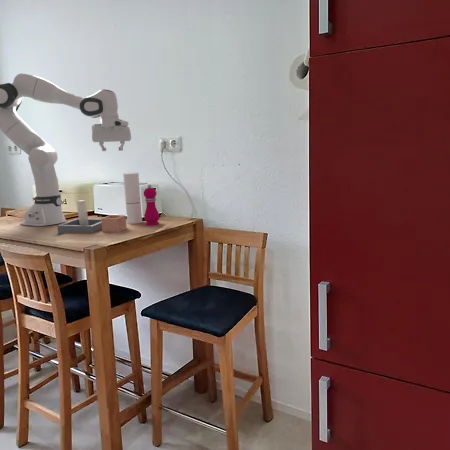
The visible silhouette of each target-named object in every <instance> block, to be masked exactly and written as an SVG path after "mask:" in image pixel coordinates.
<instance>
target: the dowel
mask: <svg viewBox="0 0 450 450" xmlns="http://www.w3.org/2000/svg"><path fill="white" fill-rule="evenodd" d="M76 206H77V215H78V219H79V224H80V225H89V224H88V219H89V217H88V216H89V215H88V208H87V200H86V199H85V200H82V199H80V200H76Z"/></svg>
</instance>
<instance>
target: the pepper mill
mask: <svg viewBox="0 0 450 450" xmlns="http://www.w3.org/2000/svg"><path fill="white" fill-rule="evenodd" d="M157 194H158V193H157V190H156V188H154V187H152V185H151V184H148V185H147V188H145V189H144V190H143V196H144V199H145V201H144V202H146V206H145V207H146V208H145V211H144V214H143V215H144V216H143V219H144V220H145V226H149V227H151V226H152V227H153V226H158V225H160V222H159V220H160V214H159V211H158V209H157V207H156V201H157V200H156V196H157Z"/></svg>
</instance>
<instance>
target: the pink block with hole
mask: <svg viewBox="0 0 450 450" xmlns="http://www.w3.org/2000/svg"><path fill="white" fill-rule="evenodd" d="M100 219H101V222H102V229H101V230H102V232H104V233H105V232H106V233H108V232H109V233H110V232H111V233H119V232H122V231H124V230H125V229H127V227H128V226H127V214H126V215H125V214H108V215H107V216H104V217H101V218H100Z"/></svg>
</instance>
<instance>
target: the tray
mask: <svg viewBox="0 0 450 450" xmlns="http://www.w3.org/2000/svg"><path fill="white" fill-rule="evenodd" d="M88 224H89V225H80V224H79V218H75V219H72V220H69V221H65V222H63V223H59V224H56V228H57V229H56V230H57V235H65V234H67V233H73V234H74V233H76V234H77V233H78V234H80V233H81V234H86V233H87V234H94V233H96V232H99V231H100V230H102V222H101V218H88Z"/></svg>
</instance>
